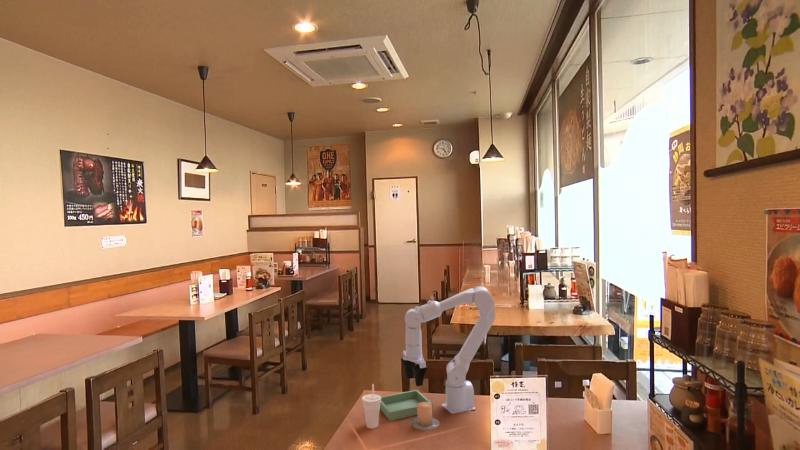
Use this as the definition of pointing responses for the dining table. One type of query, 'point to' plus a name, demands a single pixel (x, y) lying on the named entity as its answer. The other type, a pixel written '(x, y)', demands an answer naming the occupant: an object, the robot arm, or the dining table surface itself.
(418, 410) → the salmon pink cylinder
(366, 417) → the smoothie
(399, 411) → the pale green open box
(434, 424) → the saucer
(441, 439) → the dining table surface
